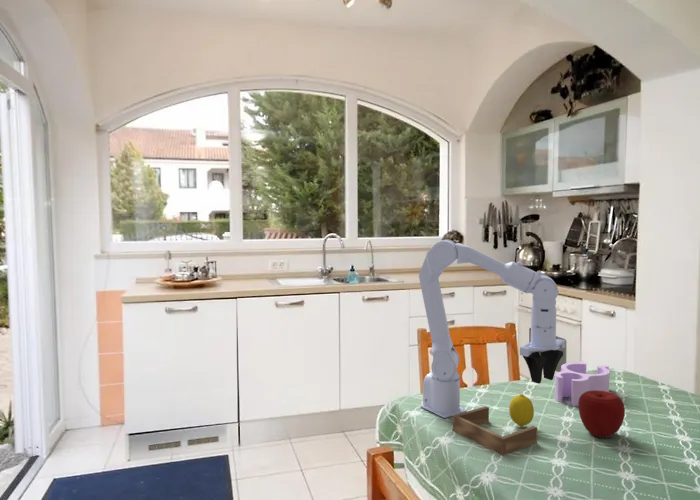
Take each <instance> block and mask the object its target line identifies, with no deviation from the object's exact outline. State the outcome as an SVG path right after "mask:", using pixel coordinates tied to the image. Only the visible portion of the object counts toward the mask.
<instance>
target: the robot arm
mask: <svg viewBox="0 0 700 500" xmlns="http://www.w3.org/2000/svg"><path fill="white" fill-rule="evenodd" d="M456 260H457V261H456ZM455 261H456V264H467V263H469V264H473V265H475V266H477V267H479V268H482V269H484V270H486V271H489V272H492V273H494V274H496V275H498V276H500V279H501V282H502V283H503V284H505V285H508V286H509V287H511V288H513V289H516V290H518V291H520V292H522V293H524V294H532V305H531V306H530V310H531V311H530V342H528V343H526V344H524V345H522V346H520V347H519V355H520V356H521V357H522V358H523V360H524V361H525V362H526V363H525V364H526V365H527V368H528V371H529V374H530V379H531V382H532V383H536V384H541V383H542V378H543V379H545V380H549V381H553V380H554V378H555V374H556V370H557V367H558V364H559V362H560V360H562V357H564V351H563V350H560V349H565V348H566V340H565V339H561V338H556V337H557V307H556V306H557V300H556V299H557V298H558V295H559V288H558V286H557V285H558V284H557V283H556V282H555V281H554V279H552V278H551V277H550V276H548V275H547V274H543V272H542V271H539V270H537V271H534V270H533V269H531V268H528V267H526V266H524V263H523V262H521V261H517V262H515V261H509V262H507V263H505V262H502V261H501V260H498V259H495V258H494V257H492V256H490V255H488V254H487V253H484V252H482V251H480V250H478V249H475V248H474V247H472V246H469V245H466V244H464V243H460V242H455V241H454V240H451V239H442V240H440V241H437V242H436V243H434V244H433V245H432V246H431V247H430V249H429V250H428V251H427V252H426V256H425V258H424V260H423V262H422V265H421V268H420V270H419V272H418V279H419V284H420V288H421V294H422V299H423V303H424V308H425V313H426V319H427V324H428V329H429V334H430V339H431V352H432V362H431V368H430V369H431V371H430V372H429V373H427V374H426V375H425V376H424V379H423V383H422V403H421V404H420V407H421V408H422V409H425V410H427V411H428V412H431V413H434V414H435V415H436V416H439V417H442V418H443V419H446V418H450V417H453V416H454V415H457V414H461V413H464V412H468V409H466V408H464V407H462V406H460V405H461V401H460V400H461V398H460V397H461V374H460V373H459V372H458V366H459V363H460V355H459V352H458V351H457V350H456V349H455V346H454V343H453V340H452V338H451V335H450V329H449V324H448V318H447V314H446V309H445V305H444V299H443V294H442V290H441V284H440V279H439V278H440V277H441V275H442V274H443V273H444V272H445V269H446V268H448V267H450V265H453V263H454V262H455Z"/></svg>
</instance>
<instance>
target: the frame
mask: <svg viewBox="0 0 700 500" xmlns="http://www.w3.org/2000/svg"><path fill="white" fill-rule="evenodd" d="M489 415H490V407H488V406H486V405H485V406H481V407H478V408H475V409H471V410H467V412H464V413H461V414H457V415H454V416H452V431H453V432H455V433H457V434H460V435H461V436H463V437H465V438H467V439H469V440H470V441H473V442H475V443H477V444H480V446H482V447H485V448H487V449H489V450H491V451H493V452H495V453H497V454H500V456H505V455H508V454H511V453H513V452H515V451H519V450H521V449H524V448H527V447H529V446H531V445H534V444H537V441H538V440H537V439H538V427H537V426H534V425H532V426H529V427H526V428H522V429H520V430H517V431H515V432H512V433H509V434H506V435H500V434H499V433H495V432H494V431H492V430H489V429H487V428H484V427H483V426H481V425H482V424H485V423H488V422H490V417H489Z"/></svg>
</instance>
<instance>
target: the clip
mask: <svg viewBox="0 0 700 500" xmlns="http://www.w3.org/2000/svg"><path fill="white" fill-rule="evenodd" d="M560 367H561V368H560V371H557V372H555V374H554V400H555V401H556V402H558V403H563V398H565V397H567V398H571V399H570V401H571V402H570V405H571V406H572V407H578V402H579V398H580V396H581V395H582V394H583V393H585V392H587V391H593V390H597V391H606V392H610V375H611V372H610V370H609V366H608V365H598V366H597V367H596V368H597V369H596V373H587V362H586V361H584V360H579V362H566V363H564V364H562V365H561V366H560Z"/></svg>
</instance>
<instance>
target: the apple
mask: <svg viewBox="0 0 700 500" xmlns="http://www.w3.org/2000/svg"><path fill="white" fill-rule="evenodd" d="M577 407H578V413H579V416H580V417H579V418H580V419H581V422H582V423H581V424H583V426H584V428H585V429H586V431H588V433H589V434H591V435H593V436H594V437H597V438H598V437H599V438H610V437H611V436H613V435H615V434H616V433H617V432H618V431H619V430H620V428H621V427H622V425H623V422H624V419H625V413H626V410H625V409H626V408H625V403H624V402H623V400H622V398H620V396H618V395H617V394H616V393H613V392H610V391H609V392H606V391H597V390H593V391H587V392H585V393H583V394H582V395H581V396H580V398H579V402H578V406H577Z"/></svg>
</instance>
